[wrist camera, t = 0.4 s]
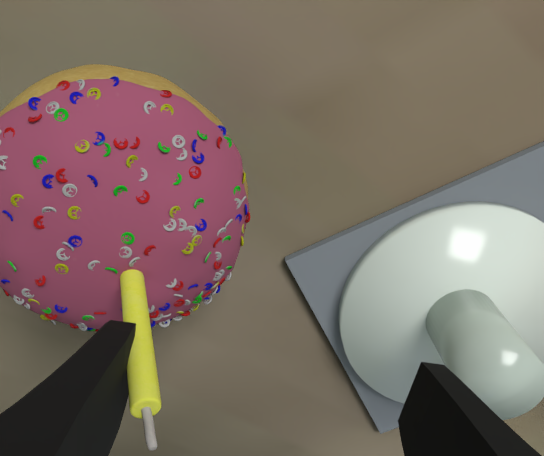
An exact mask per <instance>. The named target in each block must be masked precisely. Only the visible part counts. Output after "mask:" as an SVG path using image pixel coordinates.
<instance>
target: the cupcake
mask: <svg viewBox="0 0 544 456" xmlns="http://www.w3.org/2000/svg"><path fill="white" fill-rule="evenodd" d="M249 220H250V213H249V203H248V186H247V181H246V174H245V173H244V170H243V168H242V159H241V156H240V154H239V152H238V150H237V148H236V146H235V145H234V143H233V142H232V140H231V139H230V138H229V136H228V134H227V132H226V129H225V127H224V126H223V124H222V123H221V122H220V120H219V119H218V118H217V117H216V116H215V115H213V114H212V113H211V112H210V111H209V110H207V109H206V108H205V107H204V106H202V105H201V104H200V103H199V102H198V101H196V100H195V99H194V98H192V97H191V96H190V95H189V94H187V93H186V92H185V91H184V90H182V89H181V88H180V87H178V86H177V85H175V84H174V83H172V82H171V81H169V80H167V79H165V78H163V77H161V76H158V75H155V74H152V73H147V72H142V71H135V70H130V69H126V68H121V67H116V66H110V65H99V64H91V65H84V66H79V67H75V68H71V69H67V70H63V71H60V72H57V73H54V74H52V75H50V76H48V77H46V78H44V79H42V80H40V81H38V82H37V83H35V84H33V85H32V86H30V87H29V88H27V89H26V90H25V91H23V92H22V93H21V94H19V95H18V96H17V97H16V98H15V99H14V100H13V101H12V102H10V103H9V104H8V105H7V106H6V107H5V108H4V109H3V110H2V111H1V112H0V287H1V288H3V290H4V292H5V294H6V295H7V296H9V295H10V296H11V297H13V298H14V301H15V302H16V303H17V304H22V305H23V306H25V307H26V308H27V309H30V310H32V311H34V312H36V313H38V314H40V315H41V316H40V318H41V319H43V320H50V321H51V322H52V323H53V324H54V325H56V323H55V321H54V320H56V321H59V322H62V323H65V324H69V325H70V326H71V327H72V328H80V329H81V330H82V331H86V330H87V331H98V330H99V329H100V328H101V327H102V326H103V325H104V324H105V323H106V322H108V321H109V320H115V321H123V322H130V323H136V330H135V337H134V341H133V344H132V348H131V351H130V355H129V359H128V364H127V379H128V392H129V406H130V412H131V414H132V415H133V416H134V417H136V418H143V423H144V430H145V439H146V444H147V447H148V449H149V450H155V449H156V448H157V440H156V435H155V427H154V421H153V416H154V415H155V414H157V413H158V412H159V410H160V409H161V397H160V390H159V383H158V375H157V368H156V361H155V354H154V346H153V339H152V332H151V328H152V327H153V326H154V325H155V324H158V323H159V325H160V326H161V327H167V326H169V324H170V321H171V320H172V319H173V320H176V321H179V320H181V319H182V316H188V315H190V312H189V311H188V310H191V311H195V310H197V309H198V307H199V303H200V302H201V301H203V303H204V304H209V303H210V302H211V301H212V296H211V295H214V294H215V293H218V292H219V291H220V285H221V284H222V283H223V282H224V281H228V280H229V279H230V278H231V271H232V269H233V268H234V265H235V262H236V259H237V256H238V253H239V250H240V247H241V246H243V244H244V241H243V236H244V232H245V228H246V223H248V222H249ZM228 275H229V277H228ZM226 277H227V278H226ZM213 291H214V292H213ZM210 294H211V295H210ZM205 299H207V300H209V301H208V302H207V300H206V301H205ZM194 307H196V308H194ZM193 308H194V309H193ZM184 312H187V313H184ZM181 315H182V316H181ZM44 316H45V317H44ZM177 316H179V317H177ZM46 317H47V318H46ZM175 317H176V318H175ZM178 318H179V319H178ZM162 322H163V323H164V324H166V323H167V324H166V325H163V324H162ZM83 328H84V329H83Z"/></svg>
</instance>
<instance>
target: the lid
mask: <svg viewBox="0 0 544 456" xmlns="http://www.w3.org/2000/svg"><path fill="white" fill-rule="evenodd" d="M338 320H339V331H340V334H341V338H342V342H343V346H344V350H345V353H346V355H347V358H348V360H349V362H350V364H351V366H352V367H353V369H354V370H355V372H356V373H357V374H358V375H359V376H360V378H361V379H362V380H363V381H364V382H365V383H366V384H368V385H369V386H370V387H371V388H372V389H374V390H375V391H377V392H379V393H380V394H382V395H383V396H385V397H388V398H390V399H392V400H394V401H397V402H400V403H403V404H405V401H406V399H407V396H408V394H409V391H410V389H411V386H412V384H413V381H414V379H415V376H416V374H417V371H418V369H419V366H420V363H421V362H427V363H434V364H442V365H445V366H446V367H447V368H448V369H449V370H450V371H452V372H453V373H454V374H455V375H456V376H457V377H458V378H459V379H460V380H461V381H462V382H463V383H464V384H465V385H466V386H467V387H469V388H470V389H471V390H472V391H473V392H474V393H475V394H476V395H477V396H478V397H479V398H480V399H481V400H482V401H483V402H484V403H485V404H486V405H487V406H488V407H489V408H490V409H491V410H492V411H493V412H494V413H495V414H496V415H497V416H498V417H499V418H501V419H502V420H506V419H511V418H514V417H517V416H520V415H522V414H524V413H526V412H528V411H529V410H531V409H532V408H534V407H535V406H536V405H537V404H538V403H539V402H540V401H541V400H542V399H543V397H544V223H543V222H542V221H541V220H539V219H538V218H536V217H534V216H533V215H531V214H529V213H527V212H525V211H523V210H520V209H518V208H515V207H512V206H508V205H504V204H500V203H493V202H485V201H469V202H459V203H452V204H447V205H443V206H439V207H435V208H431V209H429V210H426V211H423V212H421V213H418V214H416V215H414V216H412V217H410V218H408V219H406V220H404V221H402V222H400V223H399V224H397V225H396V226H394V227H393V228H391V229H390V230H388V231H387V232H386V233H384V234H383V235H382V236H381V237H380V238H378V239H377V240H376V241H375V242H374V243H373V244H372V245H371V246H370V247H369V248H368V249H367V250H366V251H365V252H364V253H363V255H362V256H361V257H360V259H359V260H358V262H357V263H356V264H355V266H354V267H353V269H352V271H351V273H350V275H349V276H348V278H347V281H346V283H345V286H344V288H343V291H342V295H341V299H340V303H339V314H338Z"/></svg>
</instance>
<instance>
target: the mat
mask: <svg viewBox="0 0 544 456" xmlns="http://www.w3.org/2000/svg"><path fill="white" fill-rule="evenodd" d="M469 201H485V202H493V203H500V204H504V205H508V206H512V207H515V208H518V209H520V210H523V211H525V212H527V213H529V214H531V215H533V216H534V217H536V218H538V219H539V220H541V221H542V222H543V223H544V141H543V142H541V143H538V144H536V145H534V146H532V147H529V148H527V149H525V150H523V151H521V152H518V153H516V154H514V155H512V156H509V157H507V158H505V159H503V160H500V161H498V162H496V163H494V164H491V165H489V166H487V167H485V168H483V169H480V170H478V171H476V172H474V173H471V174H469V175H467V176H465V177H462V178H460V179H458V180H456V181H454V182H451V183H449V184H447V185H445V186H442V187H440V188H438V189H436V190H433V191H431V192H429V193H427V194H424V195H422V196H420V197H418V198H416V199H413V200H411V201H409V202H407V203H404V204H402V205H400V206H398V207H395V208H393V209H391V210H389V211H386V212H384V213H382V214H380V215H378V216H375V217H373V218H371V219H369V220H366V221H364V222H362V223H360V224H357V225H355V226H353V227H351V228H348V229H346V230H344V231H342V232H340V233H337V234H335V235H333V236H331V237H328V238H326V239H324V240H322V241H319V242H317V243H315V244H313V245H311V246H308V247H306V248H304V249H302V250H299V251H297V252H295V253H293V254H290V255H288V256H286V257H285V261H286V263H287V265H288V267H289V269H290V271H291V272H292V274H293V276H294V278H295V280H296V281H297V283H298V285H299V287H300V289H301V290H302V292H303V294H304V296H305V298H306V300H307V301H308V303H309V305H310V307H311V309H312V310H313V312H314V314H315V316H316V318H317V319H318V321H319V323H320V325H321V327H322V329H323V330H324V332H325V334H326V336H327V338H328V339H329V341H330V343H331V345H332V347H333V348H334V350H335V352H336V354H337V356H338V358H339V359H340V361H341V363H342V365H343V367H344V368H345V370H346V372H347V374H348V376H349V377H350V379H351V381H352V383H353V385H354V387H355V388H356V390H357V392H358V394H359V396H360V397H361V399H362V401H363V403H364V405H365V406H366V408H367V410H368V412H369V414H370V416H371V417H372V419H373V421H374V423H375V425H376V426H377V428H378V430H379V432H380V434H381V433H384V432H387V431H389V430H392V429H395V428H398V427H399V424H398V419H399V416H400V414H401V411H402V409H403V406H404V404H403V403H400V402H397V401H394V400H392V399H390V398H388V397H385V396H383V395H382V394H380V393H379V392H377V391H375V390H374V389H372V388H371V387H370V386H369V385H368V384H366V383H365V382H364V381H363V380H362V379H361V378H360V376H359V375H358V374H357V373H356V372H355V370H354V369H353V367H352V366H351V364H350V362H349V360H348V358H347V355H346V353H345V350H344V346H343V342H342V338H341V334H340V331H339V320H338V314H339V303H340V299H341V295H342V291H343V288H344V286H345V283H346V281H347V278H348V276H349V275H350V273H351V271H352V269H353V267H354V266H355V264H356V263H357V262H358V260H359V259H360V257H361V256H362V255H363V253H364V252H365V251H366V250H367V249H368V248H369V247H370V246H371V245H372V244H373V243H374V242H375V241H376V240H377V239H378V238H380V237H381V236H382V235H383V234H384V233H386V232H387V231H388V230H390V229H391V228H393V227H394V226H396V225H397V224H399V223H400V222H402V221H404V220H406V219H408V218H410V217H412V216H414V215H416V214H418V213H421V212H423V211H426V210H429V209H431V208H435V207H439V206H443V205H447V204H452V203H459V202H469Z"/></svg>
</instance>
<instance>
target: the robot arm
mask: <svg viewBox="0 0 544 456" xmlns="http://www.w3.org/2000/svg"><path fill="white" fill-rule="evenodd" d="M135 330H136V323H130V322H123V321H115V320H109V321H108V322H106V323H105V324H104V325H103V326H102V327H101V328H100V329H99V330H98V331H97V332H96V333H95V334H94V335H93V336H92V337H91V338H90V339H89V340H88V341H87V342H86V343H85V344H84V345H83V346H82V347H81V348H80V349H79V350H78V351H77V352H76V353H75V354H74V355H72V356H71V357H70V358H69V359H68V360H67V361H66V362H65V363H64V364H62V365H61V366H60V367H59V368H58V369H57V370H56V371H55V372H53V373H52V374H51V375H50V376H49V377H48V378H46V379H45V380H44V381H43V382H41V383H40V384H39V385H38V386H36V387H35V388H34V389H33V390H31V391H30V392H29V393H28V394H26V395H25V396H24V397H23V398H21V399H20V400H19V401H18V402H16V403H15V404H14V405H12V406H11V407H10V408H8V409H7V410H5V411H4V412H3V413H1V414H0V456H108V455H109V453H110V450H111V448H112V445H113V443H114V440H115V438H116V435H117V433H118V430H119V427H120V424H121V420H122V417H123V413H124V410H125V406H126V403H127V399H128V395H129V392H128V379H127V364H128V359H129V355H130V351H131V348H132V344H133V341H134V337H135ZM398 424H399V430H400V436H401V441H402V446H403V451H404V455H405V456H541V455H540V454H539V453H538V452H537V451H535V450H534V449H533V448H532V447H531V446H530V445H529V444H527V443H526V442H525V441H524V440H523V439H522V438H521V437H520V436H519V435H518V434H516V433H515V432H514V431H513V430H512V429H511V428H510V427H509V426H508V425H507V424H506V423H505V422H504V421H503V420H502V419H501V418H499V417H498V416H497V415H496V414H495V413H494V412H493V411H492V410H491V409H490V408H489V407H488V406H487V405H486V404H485V403H484V402H483V401H482V400H481V399H480V398H479V397H478V396H477V395H476V394H475V393H474V392H473V391H472V390H471V389H470V388H469V387H467V386H466V385H465V384H464V383H463V382H462V381H461V380H460V379H459V378H458V377H457V376H456V375H455V374H454V373H453V372H452V371H450V370H449V369H448V368H447V367H446V366H445V365H442V364H434V363H427V362H421V363H420V366H419V369H418V371H417V374H416V376H415V379H414V381H413V384H412V386H411V389H410V391H409V394H408V396H407V399H406V401H405V404H404V406H403V409H402V411H401V414H400V416H399V419H398Z"/></svg>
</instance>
